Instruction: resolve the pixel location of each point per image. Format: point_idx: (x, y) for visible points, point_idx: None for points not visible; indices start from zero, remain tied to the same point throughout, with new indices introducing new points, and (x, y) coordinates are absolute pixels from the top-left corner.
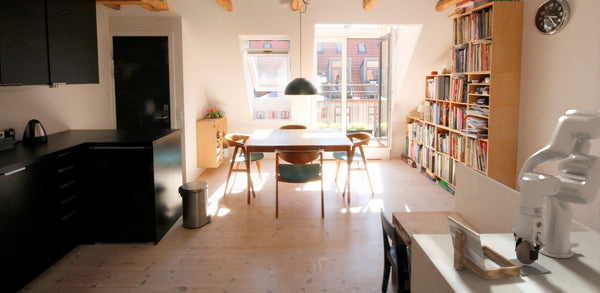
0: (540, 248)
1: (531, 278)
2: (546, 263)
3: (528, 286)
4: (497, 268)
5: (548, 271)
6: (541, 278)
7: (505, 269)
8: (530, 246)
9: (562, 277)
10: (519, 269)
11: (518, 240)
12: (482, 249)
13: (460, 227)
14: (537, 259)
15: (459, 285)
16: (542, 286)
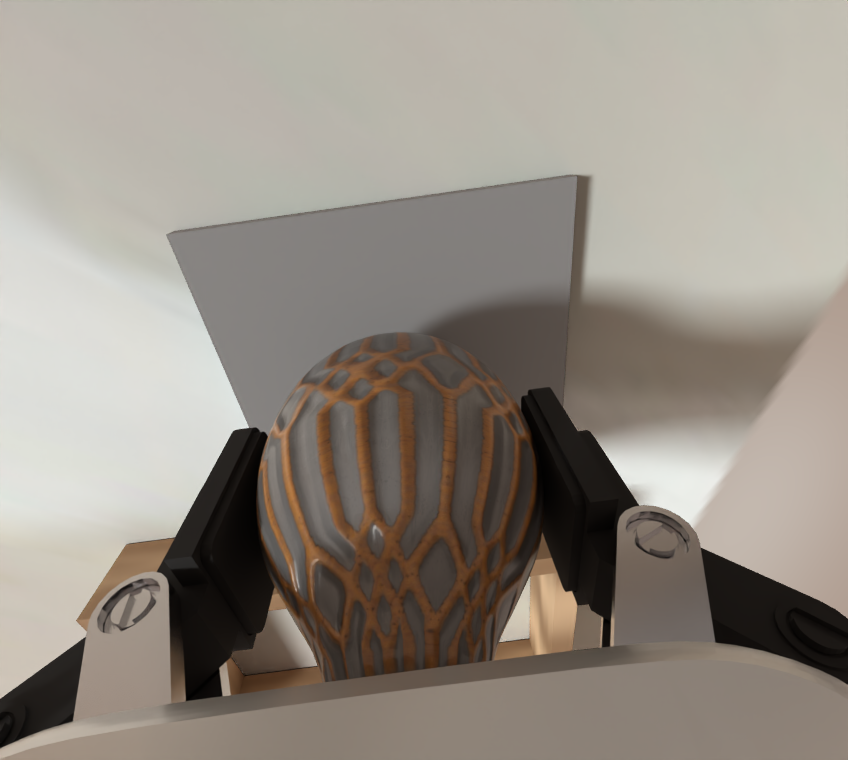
0: (770, 597)
1: (610, 429)
2: (305, 30)
3: (695, 499)
4: None
5: (570, 213)
6: (639, 355)
7: (571, 630)
8: (513, 605)
9: (712, 107)
10: None
11: (223, 662)
12: None
13: None
14: (550, 392)
15: None
16: (742, 420)
